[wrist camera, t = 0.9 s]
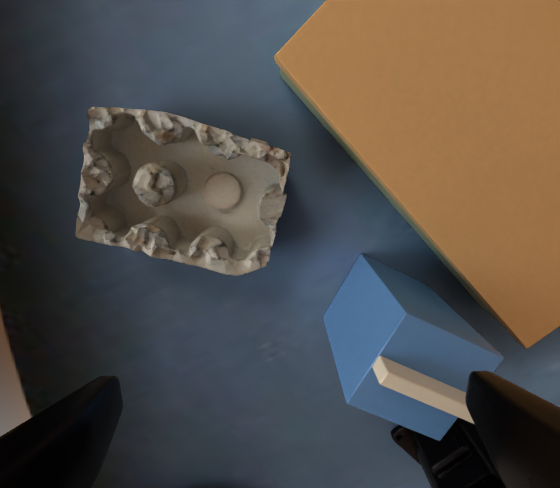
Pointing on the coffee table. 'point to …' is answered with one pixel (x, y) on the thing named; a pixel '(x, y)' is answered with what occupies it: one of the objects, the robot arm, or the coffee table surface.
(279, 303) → the coffee table surface
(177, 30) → the coffee table surface
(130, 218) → the egg carton
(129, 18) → the coffee table surface
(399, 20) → the board
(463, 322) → the carton
